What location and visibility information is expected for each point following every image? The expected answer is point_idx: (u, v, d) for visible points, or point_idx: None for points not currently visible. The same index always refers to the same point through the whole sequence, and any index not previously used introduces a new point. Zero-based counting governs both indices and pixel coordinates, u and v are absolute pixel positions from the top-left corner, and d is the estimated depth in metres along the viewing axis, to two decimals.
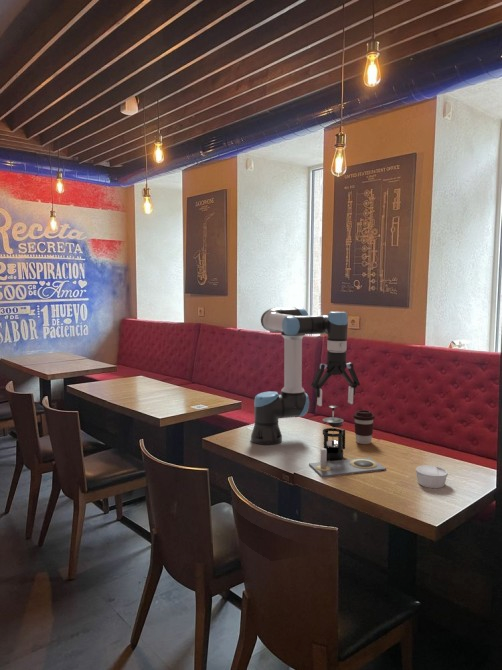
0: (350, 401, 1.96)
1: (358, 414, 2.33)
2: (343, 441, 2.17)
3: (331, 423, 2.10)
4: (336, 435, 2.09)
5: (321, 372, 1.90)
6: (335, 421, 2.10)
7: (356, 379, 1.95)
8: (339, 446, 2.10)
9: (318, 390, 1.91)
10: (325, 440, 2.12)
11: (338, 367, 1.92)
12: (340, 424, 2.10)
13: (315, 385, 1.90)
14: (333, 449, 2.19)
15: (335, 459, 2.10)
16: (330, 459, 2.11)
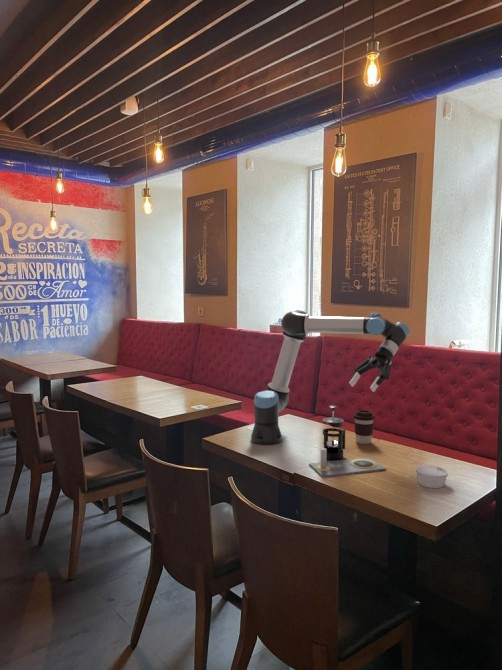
0: (353, 384, 2.25)
1: (358, 414, 2.33)
2: (343, 441, 2.17)
3: (331, 423, 2.10)
4: (336, 435, 2.09)
5: None
6: (335, 421, 2.10)
7: None
8: (339, 446, 2.10)
9: None
10: (325, 440, 2.12)
11: None
12: (340, 424, 2.10)
13: None
14: (333, 449, 2.19)
15: (335, 459, 2.10)
16: (330, 459, 2.11)
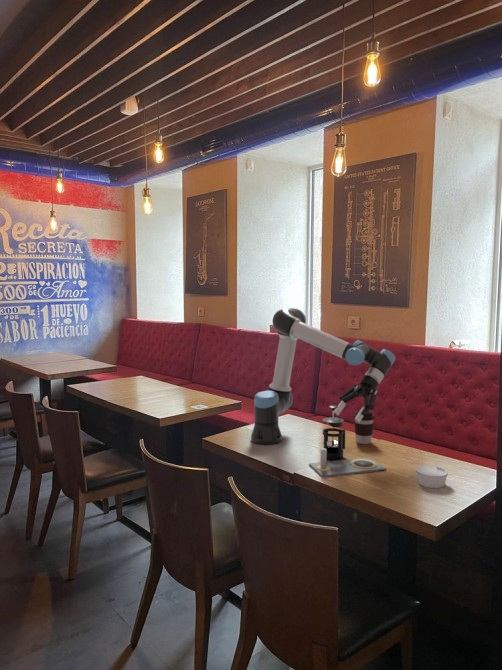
0: (338, 413, 2.22)
1: None
2: (343, 441, 2.17)
3: (331, 423, 2.10)
4: (336, 435, 2.09)
5: None
6: (335, 421, 2.10)
7: None
8: (339, 446, 2.10)
9: None
10: (325, 440, 2.12)
11: None
12: (340, 424, 2.10)
13: None
14: (333, 449, 2.19)
15: (335, 459, 2.10)
16: (330, 459, 2.11)
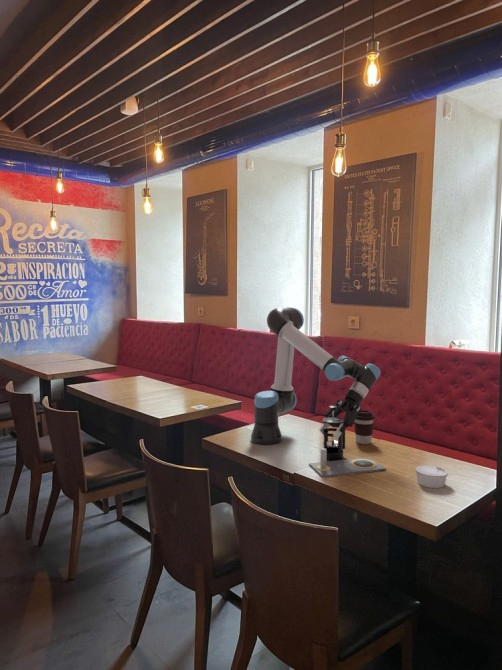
0: None
1: (358, 414, 2.33)
2: (343, 441, 2.17)
3: (331, 423, 2.10)
4: None
5: None
6: (335, 421, 2.10)
7: None
8: (339, 446, 2.10)
9: None
10: (325, 440, 2.12)
11: None
12: None
13: None
14: (333, 449, 2.19)
15: (335, 459, 2.10)
16: (330, 459, 2.10)
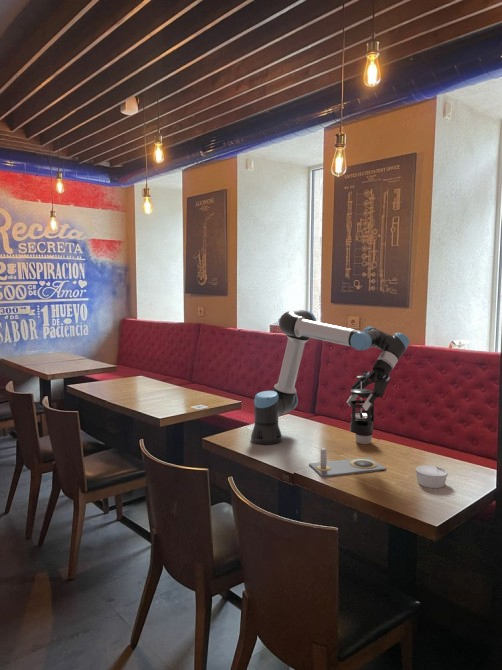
0: None
1: None
2: (372, 414, 2.06)
3: (360, 393, 1.99)
4: None
5: None
6: (364, 391, 1.99)
7: None
8: (368, 418, 1.99)
9: None
10: (353, 412, 2.00)
11: None
12: None
13: None
14: (361, 422, 2.08)
15: (364, 432, 1.99)
16: (359, 432, 1.99)
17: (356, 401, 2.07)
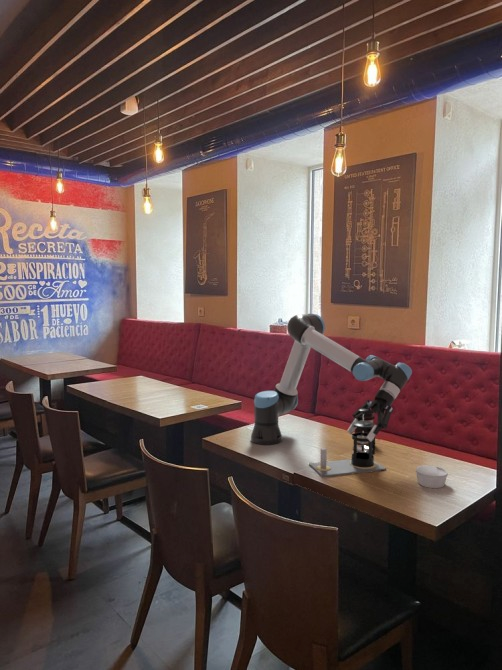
0: (351, 431, 2.07)
1: None
2: (373, 446, 2.07)
3: (362, 427, 1.99)
4: (367, 440, 1.99)
5: None
6: (366, 425, 2.00)
7: None
8: (370, 451, 2.00)
9: None
10: (355, 445, 2.01)
11: None
12: (371, 428, 2.00)
13: None
14: (362, 454, 2.08)
15: (366, 465, 2.00)
16: (360, 465, 2.00)
17: (358, 433, 2.07)
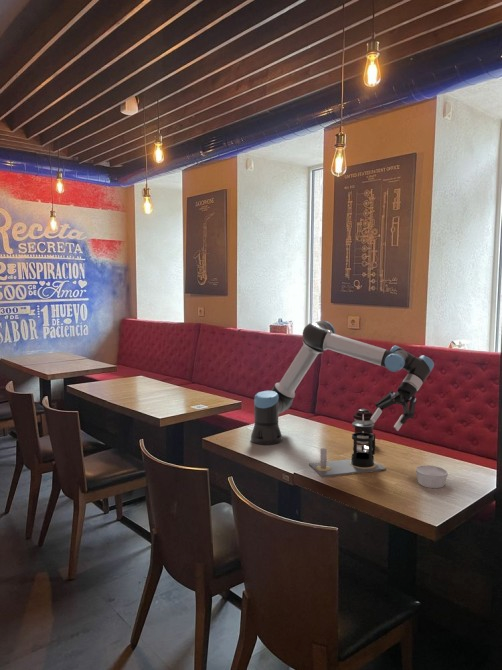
0: (374, 420, 2.15)
1: (358, 414, 2.33)
2: (373, 446, 2.07)
3: (361, 427, 1.99)
4: (367, 440, 1.99)
5: None
6: (366, 425, 2.00)
7: None
8: (370, 451, 2.00)
9: None
10: (355, 445, 2.01)
11: None
12: (371, 428, 2.00)
13: None
14: (362, 454, 2.08)
15: (366, 465, 2.00)
16: (360, 465, 2.00)
17: (358, 433, 2.07)
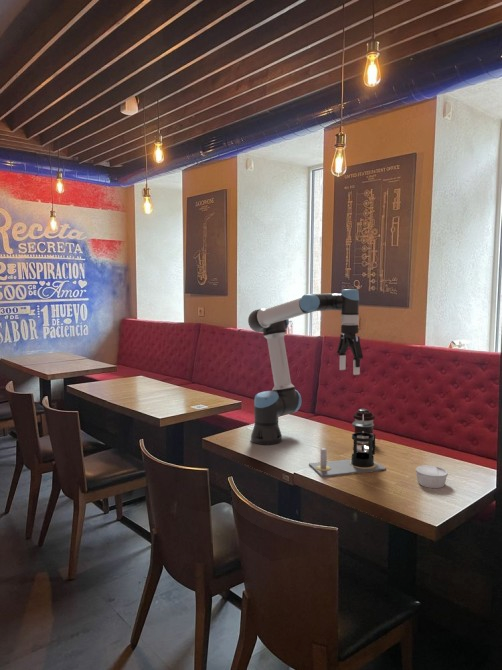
0: (344, 367, 2.24)
1: (358, 414, 2.33)
2: (373, 446, 2.07)
3: (361, 427, 1.99)
4: (367, 440, 1.99)
5: None
6: (366, 425, 2.00)
7: None
8: (370, 451, 2.00)
9: None
10: (355, 445, 2.01)
11: None
12: (371, 428, 2.00)
13: None
14: (362, 454, 2.08)
15: (366, 465, 2.00)
16: (360, 465, 2.00)
17: (358, 433, 2.07)
